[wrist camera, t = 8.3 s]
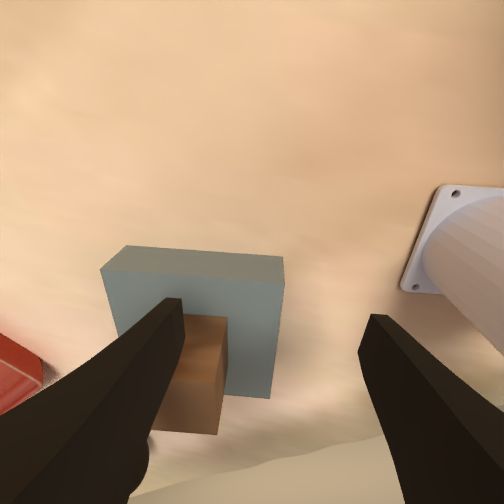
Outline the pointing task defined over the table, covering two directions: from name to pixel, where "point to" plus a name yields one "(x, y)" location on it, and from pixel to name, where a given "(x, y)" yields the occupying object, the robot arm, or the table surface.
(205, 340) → the walnut cube
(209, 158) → the table surface
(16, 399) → the plant saucer
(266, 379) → the slate-blue block
